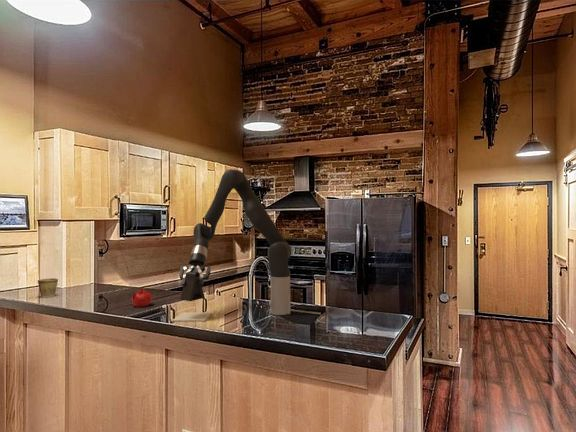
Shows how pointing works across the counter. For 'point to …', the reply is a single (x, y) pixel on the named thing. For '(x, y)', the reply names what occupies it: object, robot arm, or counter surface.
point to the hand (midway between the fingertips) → (191, 286)
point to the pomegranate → (141, 298)
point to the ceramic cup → (47, 287)
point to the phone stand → (192, 287)
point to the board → (192, 316)
